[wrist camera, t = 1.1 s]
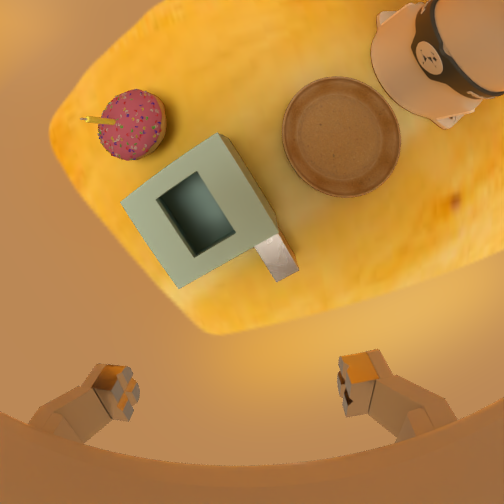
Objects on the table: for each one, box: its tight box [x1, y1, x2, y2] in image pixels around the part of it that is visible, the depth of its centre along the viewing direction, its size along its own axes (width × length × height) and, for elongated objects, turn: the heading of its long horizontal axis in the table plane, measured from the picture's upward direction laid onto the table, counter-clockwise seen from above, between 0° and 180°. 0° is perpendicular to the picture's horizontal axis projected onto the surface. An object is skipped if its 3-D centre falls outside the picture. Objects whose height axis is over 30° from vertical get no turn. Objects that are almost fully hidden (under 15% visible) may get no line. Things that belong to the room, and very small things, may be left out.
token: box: [254, 227, 299, 282], centre depth 34 cm, size 3×5×5 cm, turn 31°
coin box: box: [120, 133, 279, 289], centre depth 31 cm, size 12×11×9 cm
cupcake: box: [80, 89, 166, 160], centre depth 26 cm, size 9×8×12 cm
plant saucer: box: [282, 77, 401, 198], centre depth 31 cm, size 15×15×3 cm
